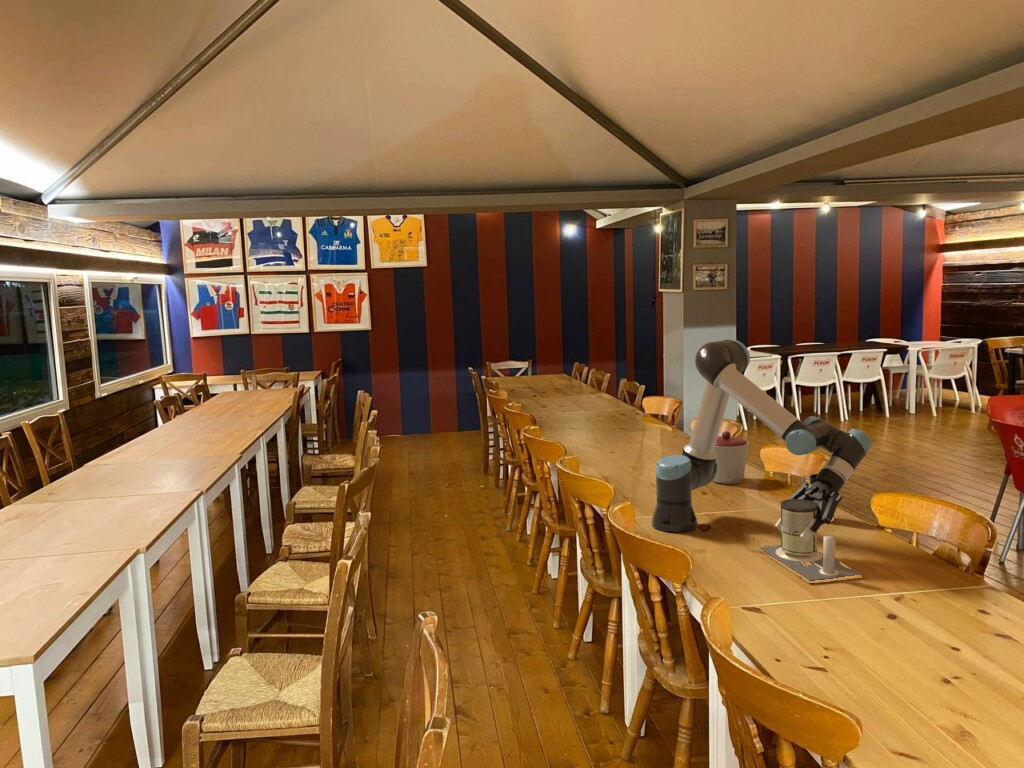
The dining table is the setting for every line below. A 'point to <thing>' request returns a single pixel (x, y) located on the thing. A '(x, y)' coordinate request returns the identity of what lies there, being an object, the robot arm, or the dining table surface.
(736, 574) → the dining table surface
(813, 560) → the pegged base plate
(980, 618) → the dining table surface
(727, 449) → the canister
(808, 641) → the dining table surface
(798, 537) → the coffee can
